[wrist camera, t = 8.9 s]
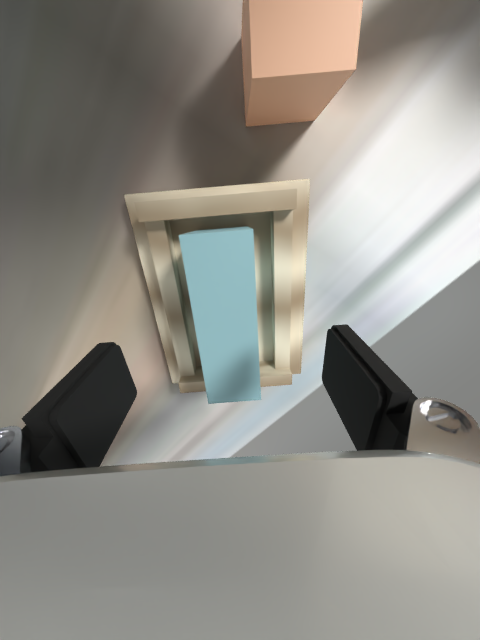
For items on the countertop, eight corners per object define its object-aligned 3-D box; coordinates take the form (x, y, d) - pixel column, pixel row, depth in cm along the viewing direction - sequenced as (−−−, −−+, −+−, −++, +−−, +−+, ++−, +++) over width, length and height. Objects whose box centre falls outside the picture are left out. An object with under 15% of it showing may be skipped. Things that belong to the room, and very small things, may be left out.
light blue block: (197, 230, 18) (178, 235, 12) (246, 226, 18) (253, 229, 12) (215, 355, 23) (208, 403, 17) (253, 352, 23) (260, 399, 17)
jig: (130, 196, 18) (106, 190, 14) (305, 181, 17) (322, 172, 14) (175, 376, 25) (166, 400, 22) (297, 366, 25) (307, 389, 22)
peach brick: (241, 38, 14) (246, -76, 9) (318, 31, 14) (372, -89, 9) (245, 126, 16) (252, 78, 11) (314, 120, 16) (356, 69, 11)
